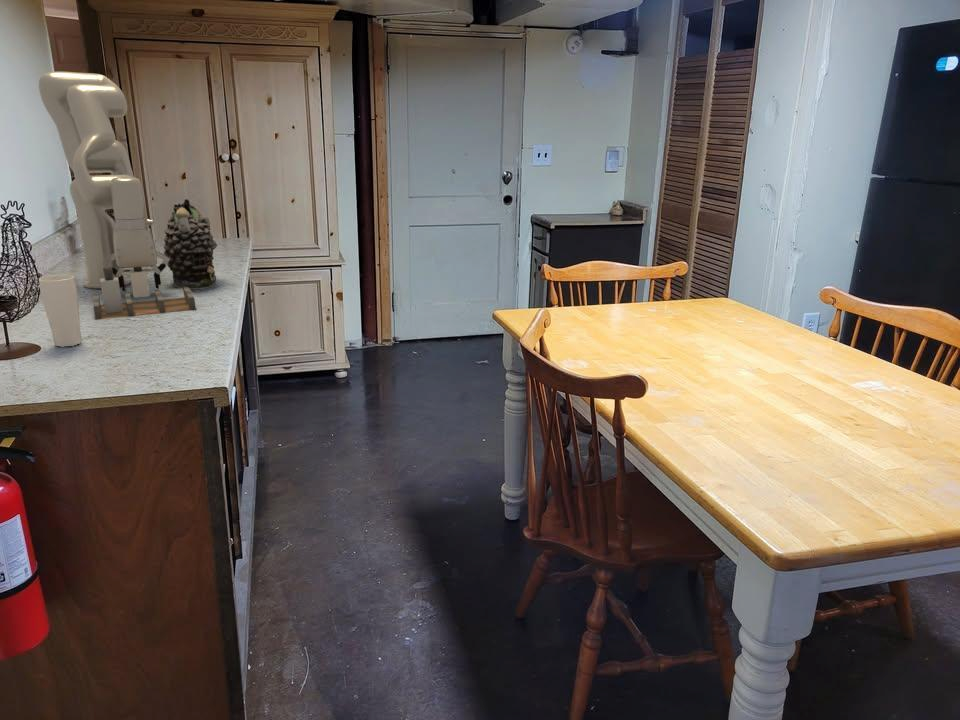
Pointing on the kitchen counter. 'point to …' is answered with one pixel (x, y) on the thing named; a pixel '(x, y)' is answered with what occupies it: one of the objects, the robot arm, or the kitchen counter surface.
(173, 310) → the wooden divided tray
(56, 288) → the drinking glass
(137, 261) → the robot arm
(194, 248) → the decorative house
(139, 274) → the cream plug
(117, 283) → the grey plug
